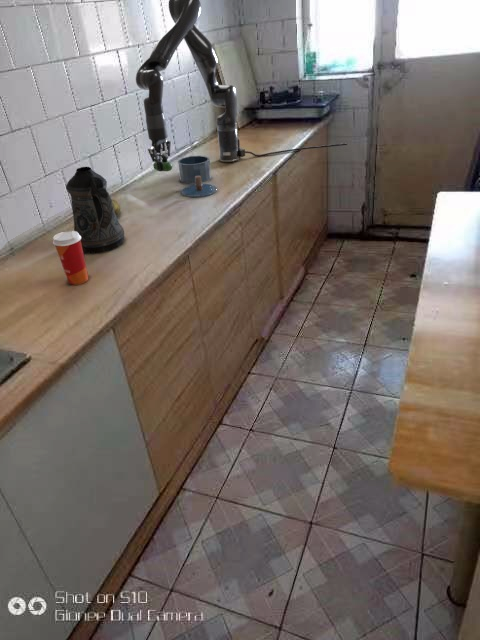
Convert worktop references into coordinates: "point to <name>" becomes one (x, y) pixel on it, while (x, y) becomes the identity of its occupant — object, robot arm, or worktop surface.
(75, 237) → the paper cup
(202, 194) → the lid
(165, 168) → the cucumber
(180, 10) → the robot arm
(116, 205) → the potato
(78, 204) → the beer stein
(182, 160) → the pot
